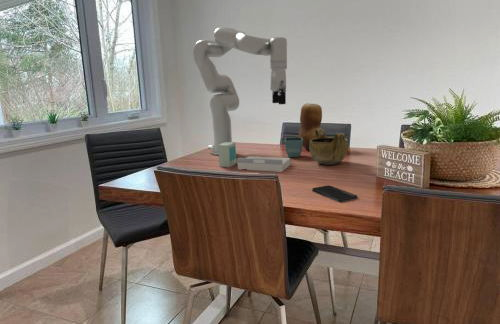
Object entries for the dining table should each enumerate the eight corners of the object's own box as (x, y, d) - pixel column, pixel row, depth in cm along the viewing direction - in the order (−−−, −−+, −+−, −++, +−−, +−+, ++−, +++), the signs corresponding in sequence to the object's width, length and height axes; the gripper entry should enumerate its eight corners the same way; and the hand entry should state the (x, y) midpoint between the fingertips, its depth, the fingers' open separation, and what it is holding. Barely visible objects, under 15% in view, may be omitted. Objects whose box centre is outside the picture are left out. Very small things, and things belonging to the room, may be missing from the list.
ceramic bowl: (358, 167, 155) (359, 132, 152) (322, 170, 151) (322, 135, 148) (333, 157, 176) (333, 126, 173) (301, 160, 172) (301, 128, 169)
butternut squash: (327, 150, 194) (327, 103, 188) (304, 152, 191) (304, 104, 185) (315, 146, 207) (316, 102, 202) (294, 148, 204) (293, 103, 198)
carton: (219, 166, 165) (218, 145, 162) (226, 162, 172) (225, 142, 170) (229, 167, 163) (228, 145, 161) (236, 163, 170) (235, 142, 168)
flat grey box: (237, 169, 158) (237, 158, 157) (249, 162, 171) (249, 152, 170) (281, 172, 151) (281, 160, 150) (290, 164, 164) (290, 153, 163)
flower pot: (302, 154, 185) (302, 137, 183) (303, 158, 176) (303, 140, 174) (285, 154, 186) (284, 137, 184) (285, 158, 177) (284, 140, 175)
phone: (329, 185, 127) (358, 196, 114) (329, 188, 128) (358, 199, 114) (310, 188, 124) (339, 200, 111) (310, 191, 124) (339, 203, 111)
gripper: (265, 66, 173) (266, 102, 176) (276, 65, 156) (276, 105, 160) (280, 66, 174) (280, 102, 178) (292, 64, 158) (292, 104, 162)
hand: (278, 103), depth 169 cm, fingers open, 9 cm apart
